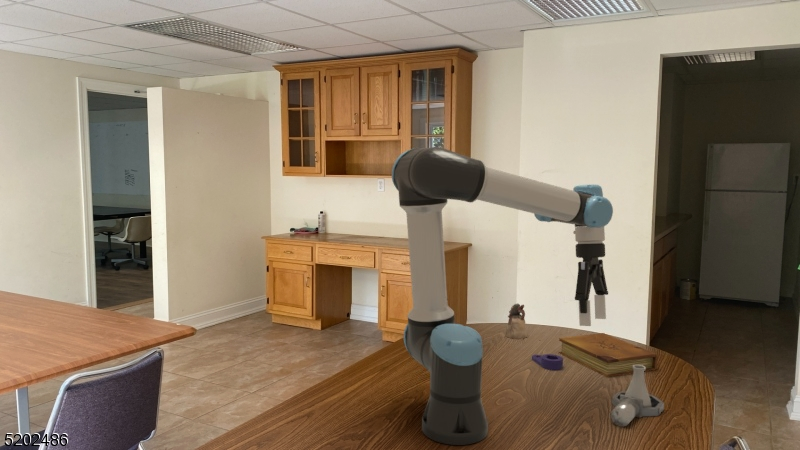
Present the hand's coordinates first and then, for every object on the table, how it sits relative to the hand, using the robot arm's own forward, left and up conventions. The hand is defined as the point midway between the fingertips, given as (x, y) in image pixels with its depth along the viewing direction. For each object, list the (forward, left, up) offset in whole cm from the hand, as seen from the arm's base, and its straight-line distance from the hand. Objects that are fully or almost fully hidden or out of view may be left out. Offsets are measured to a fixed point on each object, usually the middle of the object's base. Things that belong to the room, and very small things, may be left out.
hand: (593, 322), depth 154 cm
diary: (+29, +5, -20) cm, 35 cm away
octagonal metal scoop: (-6, -13, -19) cm, 24 cm away
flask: (-1, -13, -19) cm, 23 cm away
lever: (+14, +19, -20) cm, 31 cm away
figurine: (+35, +39, -20) cm, 56 cm away
